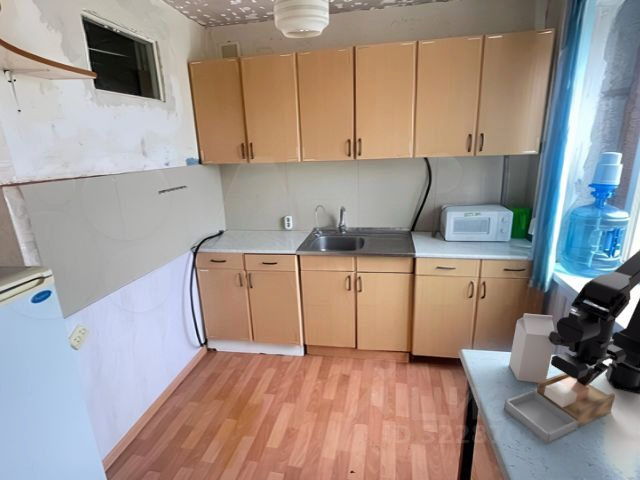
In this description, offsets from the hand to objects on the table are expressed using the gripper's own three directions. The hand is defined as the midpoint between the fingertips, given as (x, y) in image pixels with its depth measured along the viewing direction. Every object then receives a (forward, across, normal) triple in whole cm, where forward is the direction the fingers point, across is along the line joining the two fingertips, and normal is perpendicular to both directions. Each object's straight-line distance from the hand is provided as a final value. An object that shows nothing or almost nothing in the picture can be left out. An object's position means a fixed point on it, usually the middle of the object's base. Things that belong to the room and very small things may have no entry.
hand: (581, 387), depth 84 cm
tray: (+5, +14, 0) cm, 15 cm away
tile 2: (+1, +3, 0) cm, 3 cm away
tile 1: (+1, +8, 0) cm, 8 cm away
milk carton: (+5, +2, -13) cm, 14 cm away
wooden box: (+5, +2, 0) cm, 5 cm away
